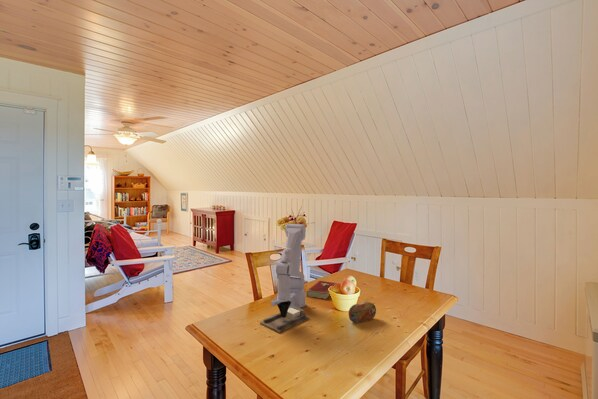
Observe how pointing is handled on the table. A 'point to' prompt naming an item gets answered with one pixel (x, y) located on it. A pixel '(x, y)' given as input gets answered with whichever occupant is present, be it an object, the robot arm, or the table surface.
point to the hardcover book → (320, 289)
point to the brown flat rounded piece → (362, 312)
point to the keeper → (292, 313)
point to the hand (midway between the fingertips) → (283, 316)
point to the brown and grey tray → (284, 321)
